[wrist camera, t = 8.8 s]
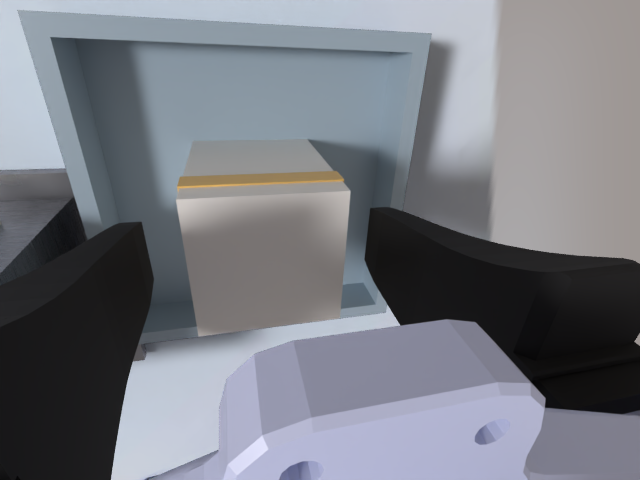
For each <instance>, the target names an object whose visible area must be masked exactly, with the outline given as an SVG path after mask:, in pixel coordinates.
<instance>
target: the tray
mask: <svg viewBox="0 0 640 480" xmlns="http://www.w3.org/2000/svg"><path fill="white" fill-rule="evenodd" d="M17 11H18V14H19V17H20V20H21V24H22V27H23V30H24V34H25V37H26V40H27V43H28V47H29V50H30V53H31V56H32V60H33V63H34V66H35V69H36V73H37V76H38V79H39V83H40V86H41V89H42V92H43V96H44V99H45V102H46V105H47V109H48V112H49V115H50V118H51V122H52V125H53V128H54V132H55V135H56V138H57V141H58V145H59V148H60V151H61V154H62V158H63V161H64V164H65V167H66V171H67V174H68V177H69V180H70V184H71V187H72V190H73V194H74V197H75V200H76V203H77V207H78V210H79V213H80V216H81V220H82V223H83V226H84V229H85V233H86V236H87V239H88V240H89V239H90V238H92V237H94V236H95V235H97V234H99V233H100V232H102V231H104V230H106V229H107V228H109V227H111V226H113V225H115V224H118V223H125V222H142V225H143V230H144V235H145V239H146V244H147V248H148V253H149V258H150V262H151V267H152V271H153V276H154V284H153V291H152V298H151V304H150V308H149V312H148V315H147V318H146V322H145V325H144V328H143V331H142V334H141V337H140V340H139V344H147V343H155V342H162V341H170V340H178V339H186V338H193V337H198V331H197V324H196V318H195V312H194V306H193V300H192V294H191V288H190V282H189V276H188V270H187V264H186V258H185V252H184V246H183V240H182V234H181V227H180V221H179V215H178V209H177V203H176V198H177V194H178V190H177V185H178V181H179V178H180V177H183V174H184V170H185V167H186V163H187V160H188V156H189V153H190V150H191V146H192V143H193V141H219V140H281V139H307V140H308V141H309V142H310V143H311V144H312V146H313V147H314V148H315V149H316V150H317V152H318V153H319V154H320V155H321V156H322V158H323V159H324V160H325V161H326V162H327V163H328V165H329V166H330V167H331V168H332V169H333V171H337V172H338V173H339V174H340V175H341V176H342V177H343V179H344V184H345V185H346V186H347V187H348V188H349V190H350V191H351V193H350V205H349V217H348V229H347V240H346V252H345V264H344V276H343V288H342V300H341V312H340V318H338V319H341V318H348V317H356V316H364V315H372V314H379V313H386V308H387V303H386V301H385V300H384V298H383V297H382V295H381V293H380V292H379V290H378V288H377V287H376V285H375V283H374V282H373V279H372V277H371V275H370V272H369V270H368V267H367V265H366V262H365V260H364V258H365V249H366V240H367V232H368V223H369V214H370V208H376V207H390V208H394V209H398V210H401V211H403V205H404V199H405V193H406V187H407V181H408V174H409V168H410V162H411V156H412V150H413V144H414V138H415V132H416V126H417V120H418V113H419V107H420V101H421V95H422V89H423V83H424V77H425V71H426V65H427V59H428V53H429V46H430V40H431V34H432V33H414V32H396V31H379V30H361V29H343V28H326V27H308V26H290V25H273V24H255V23H237V22H219V21H202V20H184V19H166V18H149V17H131V16H113V15H96V14H78V13H60V12H43V11H25V10H17ZM330 320H333V319H330ZM323 321H325V320H323ZM315 322H317V321H315ZM307 323H310V322H307ZM300 324H302V323H300ZM292 325H294V324H292ZM284 326H286V325H284ZM277 327H279V326H277ZM269 328H271V327H269ZM261 329H263V328H261ZM254 330H255V329H254ZM246 331H248V330H246ZM238 332H240V331H238ZM231 333H232V332H231ZM223 334H224V333H223ZM215 335H217V334H215ZM208 336H209V335H208ZM200 337H201V336H200ZM139 344H138V345H139Z"/></svg>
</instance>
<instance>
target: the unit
mask: <svg viewBox="0 0 640 480" xmlns="http://www.w3.org/2000/svg"><path fill="white" fill-rule="evenodd" d="M87 240H88V239H87V236H86V233H85V229H84V226H83V223H82V220H81V216H80V213H79V210H78V207H77V203H76V200H75V197H74V194H73V190H72V187H71V184H70V180H69V177H68V174H67V171H66V169H40V170H5V171H0V285H2V284H5V283H7V282H9V281H11V280H14V279H16V278H18V277H20V276H23V275H25V274H27V273H29V272H31V271H33V270H35V269H37V268H39V267H41V266H43V265H45V264H47V263H48V262H50V261H52V260H54V259H56V258H58V257H59V256H61V255H63V254H65V253H67V252H69V251H70V250H72V249H74V248H75V247H77V246H79V245H80V244H82V243H84V242H85V241H87ZM145 356H146V349H145V345H144V344H139V345H138V347H137V350H136V353H135V356H134V359H133V361H139V360H145Z"/></svg>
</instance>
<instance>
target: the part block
mask: <svg viewBox="0 0 640 480" xmlns="http://www.w3.org/2000/svg"><path fill="white" fill-rule="evenodd" d="M177 190H178V194H177V198H176V203H177V209H178V215H179V221H180V227H181V234H182V240H183V246H184V252H185V258H186V264H187V270H188V276H189V282H190V288H191V294H192V300H193V306H194V312H195V318H196V324H197V331H198V337H200V336H208V335H215V334H223V333H231V332H238V331H246V330H254V329H261V328H269V327H277V326H284V325H292V324H300V323H307V322H315V321H323V320H330V319H338V318H340V312H341V300H342V288H343V276H344V264H345V252H346V240H347V229H348V217H349V205H350V193H351V191H350V190H349V188H348V187H347V186H346V185H345V184H344V179H343V177H342V176H341V175H340V174H339V173H338V172H337V171H333V169H332V168H331V167H330V166H329V165H328V163H327V162H326V161H325V160H324V159H323V158H322V156H321V155H320V154H319V153H318V152H317V150H316V149H315V148H314V147H313V146H312V144H311V143H310V142H309V141H308V140H307V139H281V140H219V141H193V143H192V146H191V150H190V153H189V156H188V160H187V163H186V167H185V170H184V174H183V177H180V178H179V181H178V185H177Z"/></svg>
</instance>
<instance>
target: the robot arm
mask: <svg viewBox="0 0 640 480" xmlns="http://www.w3.org/2000/svg"><path fill="white" fill-rule="evenodd" d="M364 260H365V262H366V265H367V267H368V270H369V272H370V275H371V277H372V279H373V282H374V283H375V285H376V287H377V288H378V290H379V292H380V293H381V295H382V297H383V298H384V300H385V301H386V303H387V305H388V306H389V308H390V309H391V311H392V313H393V314H394V316H395V317H396V319H397V321H398V322H399V324H400V325H401V326H395V327H388V328H381V329H374V330H366V331H359V332H352V333H345V334H338V335H331V336H324V337H316V338H309V339H302V340H295V341H291V342H288V343H285V344H282V345H279V346H276V347H273V348H270V349H267V350H264V351H261V352H258V353H256V354H254V355H252V356H251V357H250V358H249V359H248V360H247V361H246V362H245V363H244V364H243V365H241V366H240V367H239V368H238V369H237V370H236V371H235V372H234V373H233V374H232V375H230V376H229V377H228V378H227V379H226V383H225V387H224V391H223V395H222V398H221V402H220V406H219V450H217V451H214V452H212V453H210V454H207V455H205V456H203V457H200V458H198V459H196V460H193V461H191V462H188V463H186V464H184V465H181V466H179V467H177V468H174V469H172V470H170V471H167V472H165V473H163V474H160V475H158V476H156V477H153V478H151V479H148V480H640V346H639V345H638V344H636V343H635V342H634V341H635V340H636V338H637V336H638V335H639V333H640V264H639V263H637V262H636V261H633V260H629V259H624V258H608V257H591V256H575V255H566V254H557V253H549V252H541V251H535V250H529V249H523V248H517V247H513V246H507V245H503V244H498V243H494V242H490V241H486V240H483V239H479V238H475V237H472V236H468V235H465V234H462V233H459V232H456V231H453V230H450V229H448V228H445V227H442V226H439V225H437V224H434V223H432V222H429V221H426V220H424V219H421V218H419V217H416V216H414V215H411V214H409V213H406V212H403V211H401V210H398V209H394V208H390V207H376V208H370V214H369V223H368V232H367V240H366V249H365V258H364ZM153 284H154V276H153V271H152V267H151V262H150V258H149V253H148V248H147V244H146V239H145V235H144V230H143V225H142V222H125V223H118V224H115V225H113V226H111V227H109V228H107V229H106V230H104V231H102V232H100V233H99V234H97V235H95V236H94V237H92V238H90V239H89V240H87V241H85V242H84V243H82V244H80V245H79V246H77V247H75V248H74V249H72V250H70V251H69V252H67V253H65V254H63V255H61V256H59V257H58V258H56V259H54V260H52V261H50V262H48V263H47V264H45V265H43V266H41V267H39V268H37V269H35V270H33V271H31V272H29V273H27V274H25V275H23V276H20V277H18V278H16V279H14V280H11V281H9V282H7V283H5V284H2V285H0V480H111V474H112V467H113V460H114V453H115V447H116V441H117V435H118V429H119V423H120V417H121V411H122V406H123V401H124V395H125V390H126V385H127V380H128V376H129V373H130V369H131V365H132V362H133V359H134V356H135V353H136V350H137V347H138V344H139V340H140V337H141V334H142V331H143V328H144V325H145V322H146V318H147V315H148V312H149V308H150V304H151V298H152V291H153Z"/></svg>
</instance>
